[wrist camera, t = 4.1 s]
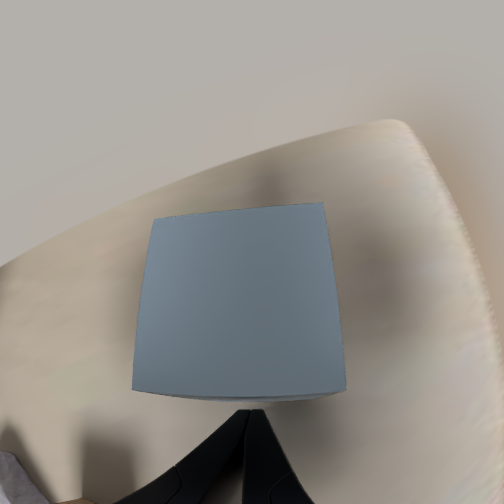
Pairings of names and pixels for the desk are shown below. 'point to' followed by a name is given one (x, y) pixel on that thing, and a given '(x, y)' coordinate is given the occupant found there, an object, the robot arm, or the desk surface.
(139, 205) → the desk surface
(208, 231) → the slate block
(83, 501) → the walnut block
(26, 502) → the stone block
